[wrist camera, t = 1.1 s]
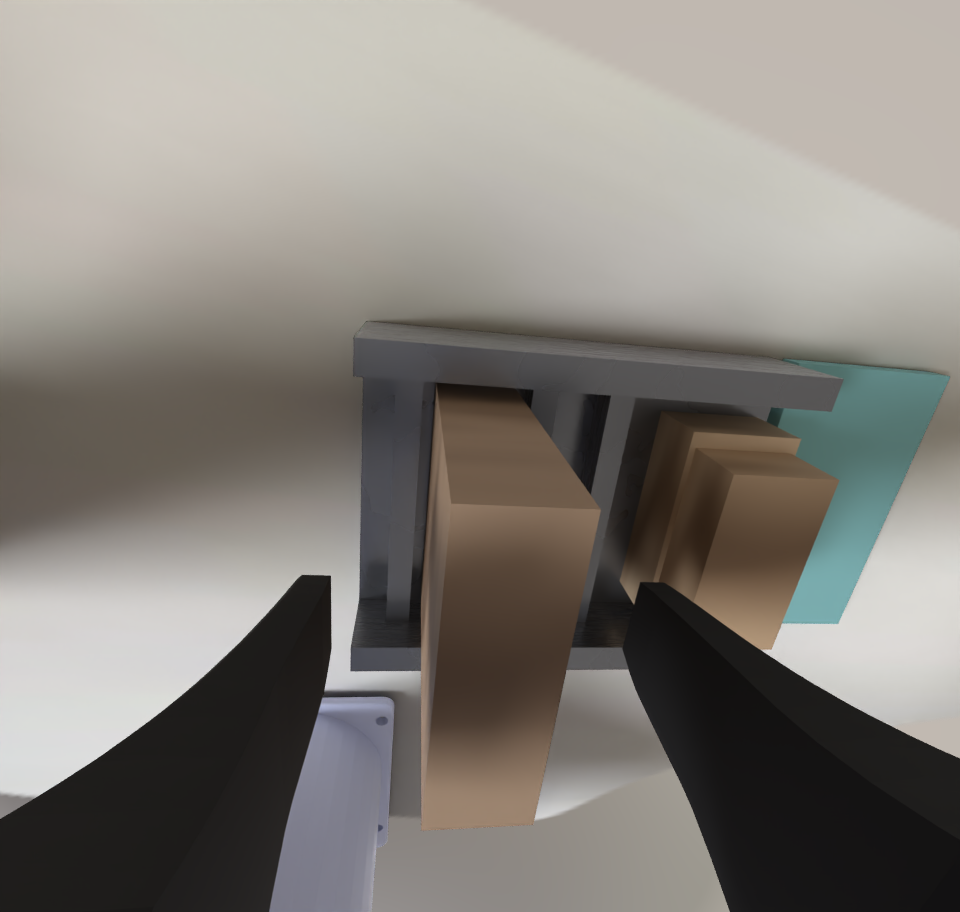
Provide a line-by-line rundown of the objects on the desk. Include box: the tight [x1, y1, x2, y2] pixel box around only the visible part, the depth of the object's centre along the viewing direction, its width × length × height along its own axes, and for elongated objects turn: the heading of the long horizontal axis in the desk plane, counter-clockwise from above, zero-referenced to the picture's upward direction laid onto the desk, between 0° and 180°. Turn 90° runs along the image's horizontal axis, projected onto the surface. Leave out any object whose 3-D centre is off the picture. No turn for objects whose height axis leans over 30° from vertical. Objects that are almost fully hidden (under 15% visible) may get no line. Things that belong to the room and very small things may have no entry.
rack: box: [351, 321, 844, 671], centre depth 17 cm, size 11×14×3 cm
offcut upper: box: [659, 448, 839, 649], centre depth 16 cm, size 6×3×2 cm, turn 174°
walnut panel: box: [421, 382, 601, 831], centre depth 13 cm, size 8×2×8 cm, turn 174°
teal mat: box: [767, 359, 950, 624], centre depth 20 cm, size 11×6×1 cm, turn 174°
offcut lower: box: [620, 411, 801, 604], centre depth 18 cm, size 7×4×2 cm, turn 174°
